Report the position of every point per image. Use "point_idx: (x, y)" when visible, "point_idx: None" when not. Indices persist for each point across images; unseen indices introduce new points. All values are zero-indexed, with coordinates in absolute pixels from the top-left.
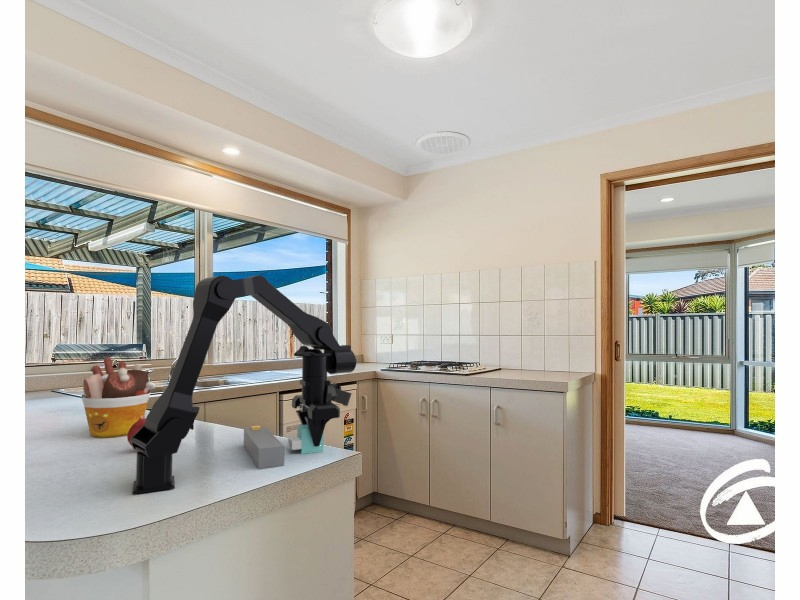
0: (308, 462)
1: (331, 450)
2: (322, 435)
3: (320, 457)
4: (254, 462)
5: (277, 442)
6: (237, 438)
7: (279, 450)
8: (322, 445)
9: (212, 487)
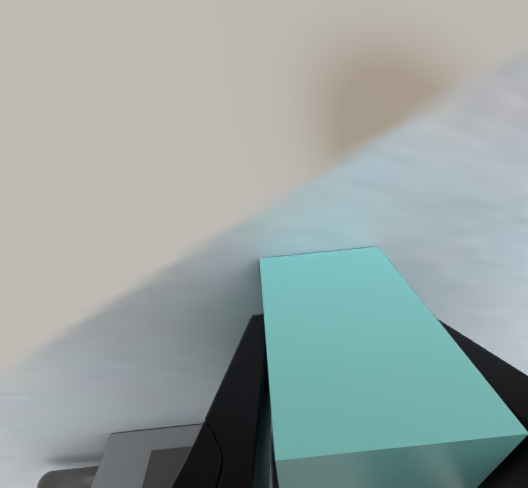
0: (515, 331)
1: (392, 191)
2: (446, 339)
3: (488, 279)
4: None
5: None
6: (8, 484)
7: None
8: (397, 275)
9: None
